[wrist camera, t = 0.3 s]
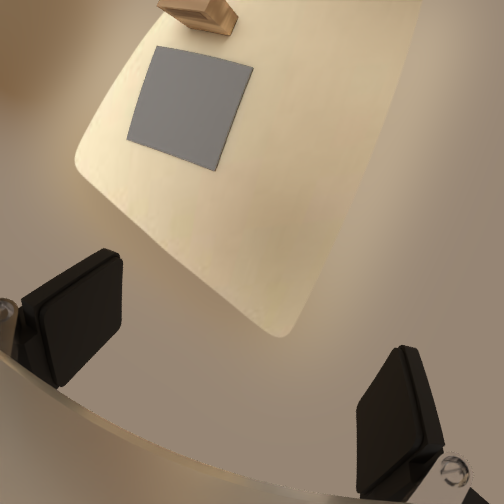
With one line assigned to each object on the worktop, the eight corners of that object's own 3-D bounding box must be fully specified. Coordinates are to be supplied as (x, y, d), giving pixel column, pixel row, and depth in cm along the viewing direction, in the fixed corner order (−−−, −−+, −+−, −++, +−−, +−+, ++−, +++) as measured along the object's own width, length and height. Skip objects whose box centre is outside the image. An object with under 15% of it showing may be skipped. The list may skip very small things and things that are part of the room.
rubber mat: (158, 46, 34) (156, 45, 34) (253, 68, 33) (252, 67, 33) (128, 139, 40) (126, 139, 39) (215, 170, 39) (214, 171, 38)
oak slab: (197, 9, 31) (166, -16, 23) (238, 16, 31) (215, -12, 23) (188, 28, 32) (156, 6, 24) (229, 36, 32) (204, 12, 24)
